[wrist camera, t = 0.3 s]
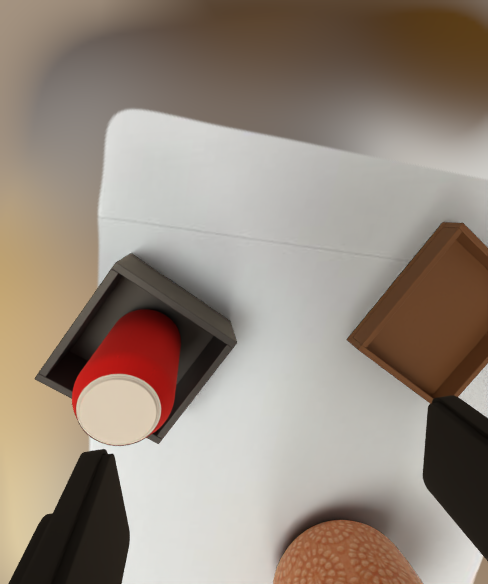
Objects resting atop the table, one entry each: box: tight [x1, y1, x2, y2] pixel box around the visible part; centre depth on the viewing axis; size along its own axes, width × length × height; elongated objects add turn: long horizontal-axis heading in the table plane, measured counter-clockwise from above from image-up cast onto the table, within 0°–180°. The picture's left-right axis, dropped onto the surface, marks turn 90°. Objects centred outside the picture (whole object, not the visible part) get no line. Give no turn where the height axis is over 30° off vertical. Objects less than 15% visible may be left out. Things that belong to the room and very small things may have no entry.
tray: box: [347, 222, 488, 404], centre depth 34 cm, size 15×13×3 cm
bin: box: [35, 253, 237, 444], centre depth 28 cm, size 11×11×6 cm
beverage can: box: [72, 309, 181, 446], centre depth 25 cm, size 6×6×12 cm
